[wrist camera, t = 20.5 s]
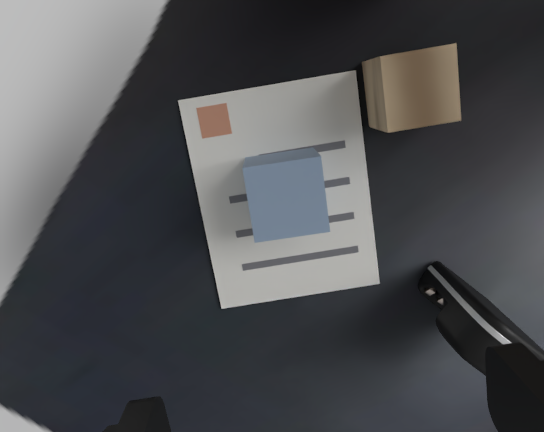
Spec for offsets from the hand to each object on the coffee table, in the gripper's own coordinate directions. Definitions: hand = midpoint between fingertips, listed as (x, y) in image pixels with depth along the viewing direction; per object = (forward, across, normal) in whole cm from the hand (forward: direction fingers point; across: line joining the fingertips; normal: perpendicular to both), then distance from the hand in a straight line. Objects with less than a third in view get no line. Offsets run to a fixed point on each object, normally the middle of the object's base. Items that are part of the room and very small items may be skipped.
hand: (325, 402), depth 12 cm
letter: (+28, 0, +1) cm, 28 cm away
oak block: (+28, -10, -6) cm, 31 cm away
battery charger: (+28, -13, +12) cm, 33 cm away
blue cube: (+28, 0, 0) cm, 28 cm away
